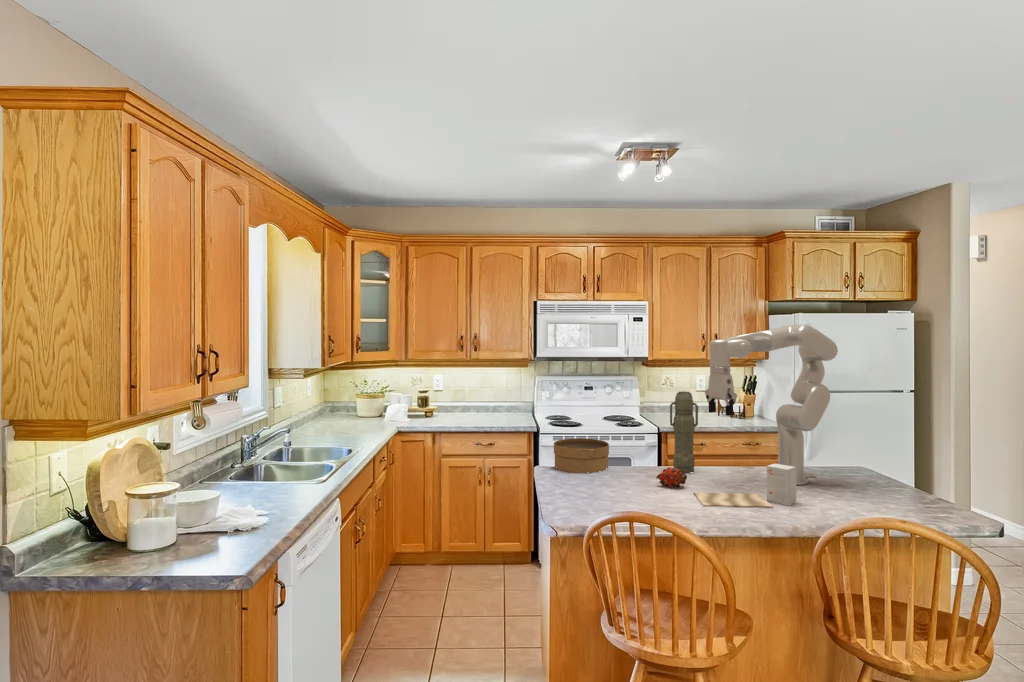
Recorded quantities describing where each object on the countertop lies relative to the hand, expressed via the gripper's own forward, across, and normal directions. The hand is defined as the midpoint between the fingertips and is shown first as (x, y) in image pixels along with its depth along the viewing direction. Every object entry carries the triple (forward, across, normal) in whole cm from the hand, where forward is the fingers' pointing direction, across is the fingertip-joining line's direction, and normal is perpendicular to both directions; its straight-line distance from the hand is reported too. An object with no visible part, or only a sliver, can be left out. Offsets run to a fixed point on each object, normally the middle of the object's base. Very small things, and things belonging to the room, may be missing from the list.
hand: (720, 413), depth 239 cm
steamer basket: (+29, +52, +35) cm, 69 cm away
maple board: (+29, -17, +11) cm, 35 cm away
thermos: (+29, +27, -2) cm, 40 cm away
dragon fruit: (+29, +7, +19) cm, 35 cm away
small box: (+30, -25, -5) cm, 39 cm away
